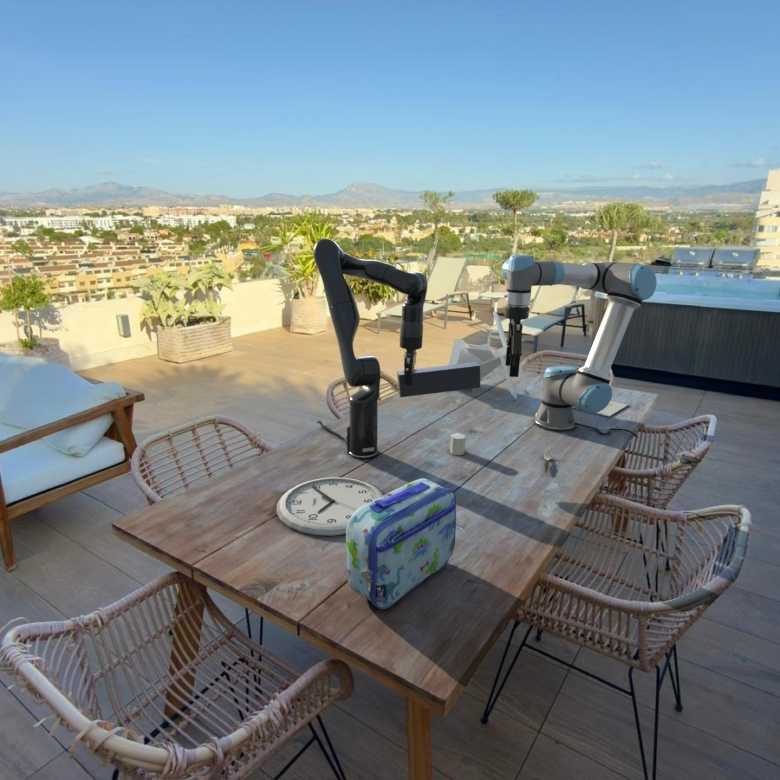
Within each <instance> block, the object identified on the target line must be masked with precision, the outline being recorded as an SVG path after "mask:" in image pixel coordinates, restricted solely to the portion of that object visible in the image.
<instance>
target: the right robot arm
mask: <svg viewBox="0 0 780 780" xmlns="http://www.w3.org/2000/svg"><path fill="white" fill-rule="evenodd" d="M501 273H502V276H503V278H504V279H505V280H506V293H505V294H504V295H503V298H505V304H506V306H504V314H503V315H504V318H505V319H508V320H509V323H508V329H507V336H506V340H507V341H506V342H507V351H506V363H505V366H508V367H509V371H510V373H509V377H511V378H519V376H518V374H519V363H520V364H521V357H522V355H523V353H522V340H523V327H524V326H523V324H522V322H521V321H522V320H528V319H529V316H530V305H531V298H532V287H536V286H537V287H538V286H540V287H541V286H542V287H543V286H550V287H552V286H556V285H561V286H573V287H579V288H580V289H583V290H589V291H594V292H598V293H603V294H604V295H606V298H607V299H606V300H607V301H608V304H607V306H606V310H605V312H604V315H603V317H602V319H601V322H600V325H599V327H598V330H597V333H596V334H595V337H594V339H593V342H592V345H591V347H590V350H589V353H588V355H587V358H586V360H585V363H584V365H583V366H582V367H580V368H578V369H577V367H574V366H566V365H565V366H564V365H559V366H558V365H557V366H550V367H547V368H546V369H545V370H544V375H543V381H542V392H541V402H540V405H539V407H538V410H537V411H536V413H535V414H534V416H535V417H534V424H535V425H536V426H537V427H539V428H542V429H544V430H549V431H556V432H567V431H572V430H574V429H575V428H576V426H580V427H583V428H586V429H591V430H594V431H596V432H598V433H599V434H600V435H601V436H608V435H610V434H611V431H621V432H627V433H629V434H631V435H633V436H634V437H635V438H637V439H638V438H639V436H638V435H637V434H636V433H635V432H633V431H632V430H630V429H627V428H617V427H616V428H615V427H614V428H611V427H610V428H609V429H608V430H607V432H602V431H601V430H600V429H599V428H597V427H593V426H590V425H586V424H582V423H579V422H576V418H575V417H576V416H575V413H574V407H576V408H578V409H577V410H580V411H582V412H586V413H589V414H596V413H597V412H600V411H601V410H603V409H604V408H605V407H606V406H607V405H608V404H609V402H610V401H612V398H613V388H612V386H611V385H610V383H611V377H610V375H609V373H610V371H611V369H612V365H613V363H614V360H615V358H616V356H617V353H618V351H619V348H620V345H621V343H622V341H623V338H624V336H625V333H626V331H627V329H628V325H629V323H630V321H631V319H632V316H633V313H634V310H636V309H639V308H640V307H641V306H642V303H643V301H646V300H649V299H650V298H651V297H652V296H653V295H654V293H655V292H656V289H657V284H658V283H657V276H656V272H655V270H654V269H653V268H652V266H651V265H650V266H649V265H648V264H644V263H643V264H642V263H639V262H635V263H631V262H619V261H604V262H603V261H602V262H589V261H588V262H585V263H583V264H580V263H569V262H560V261H557V260H555V261H554V260H535V257H534V255H530V254H512V255H511V256H509V258H508V259H507V260H505V261H504V263H503V265H502V267H501ZM576 408H575V409H576Z"/></svg>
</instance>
